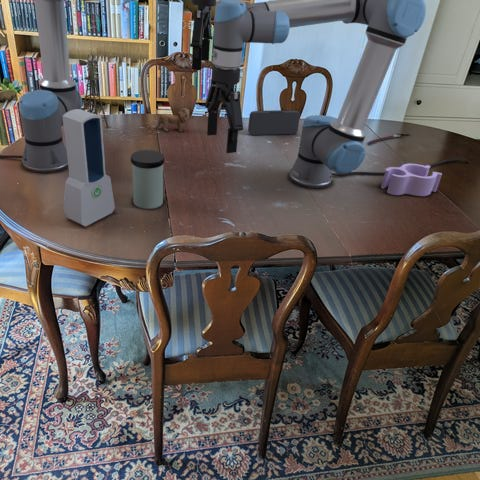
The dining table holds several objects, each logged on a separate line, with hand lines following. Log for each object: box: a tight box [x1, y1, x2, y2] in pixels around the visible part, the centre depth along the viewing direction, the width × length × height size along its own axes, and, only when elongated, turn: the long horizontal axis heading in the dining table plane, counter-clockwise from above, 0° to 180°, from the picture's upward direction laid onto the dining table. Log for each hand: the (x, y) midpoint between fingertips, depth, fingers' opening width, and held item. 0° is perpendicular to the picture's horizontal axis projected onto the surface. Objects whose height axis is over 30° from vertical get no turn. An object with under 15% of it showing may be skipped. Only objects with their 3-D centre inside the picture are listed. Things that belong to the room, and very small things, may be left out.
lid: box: [130, 149, 165, 168], centre depth 136 cm, size 10×10×2 cm
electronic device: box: [62, 109, 116, 227], centre depth 126 cm, size 12×8×30 cm, turn 148°
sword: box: [367, 133, 409, 145], centre depth 213 cm, size 31×3×1 cm, turn 126°
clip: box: [380, 163, 443, 197], centre depth 168 cm, size 20×12×7 cm, turn 109°
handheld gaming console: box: [247, 109, 301, 136], centre depth 202 cm, size 23×3×10 cm, turn 108°
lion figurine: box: [154, 107, 190, 132], centre depth 195 cm, size 15×5×9 cm, turn 110°
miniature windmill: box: [78, 51, 110, 128], centre depth 183 cm, size 9×8×30 cm
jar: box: [131, 163, 164, 210], centre depth 140 cm, size 9×9×15 cm
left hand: (200, 65), depth 149 cm, fingers open, 13 cm apart
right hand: (221, 143), depth 133 cm, fingers open, 13 cm apart
